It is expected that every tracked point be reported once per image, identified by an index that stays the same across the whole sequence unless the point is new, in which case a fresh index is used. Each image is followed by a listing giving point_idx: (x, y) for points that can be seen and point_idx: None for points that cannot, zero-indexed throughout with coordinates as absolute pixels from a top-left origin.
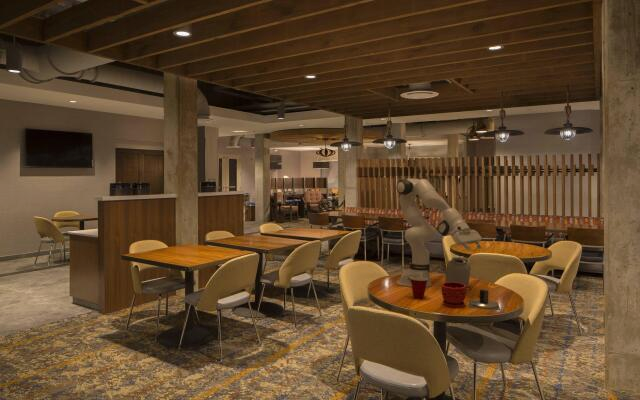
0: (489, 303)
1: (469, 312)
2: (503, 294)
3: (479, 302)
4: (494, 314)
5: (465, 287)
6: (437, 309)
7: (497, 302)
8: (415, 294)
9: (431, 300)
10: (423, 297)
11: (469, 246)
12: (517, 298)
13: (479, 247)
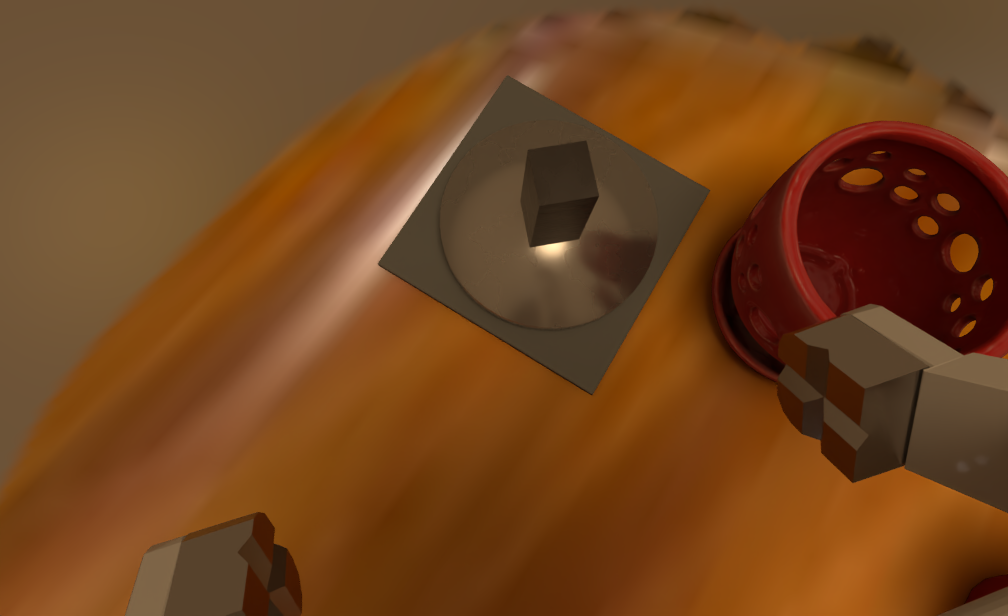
0: (514, 191)
1: (758, 111)
2: (107, 507)
3: (579, 240)
4: (605, 26)
5: (812, 148)
6: (967, 241)
7: (386, 256)
8: None
9: (917, 502)
10: (972, 598)
11: (875, 386)
12: (96, 340)
13: (266, 528)
